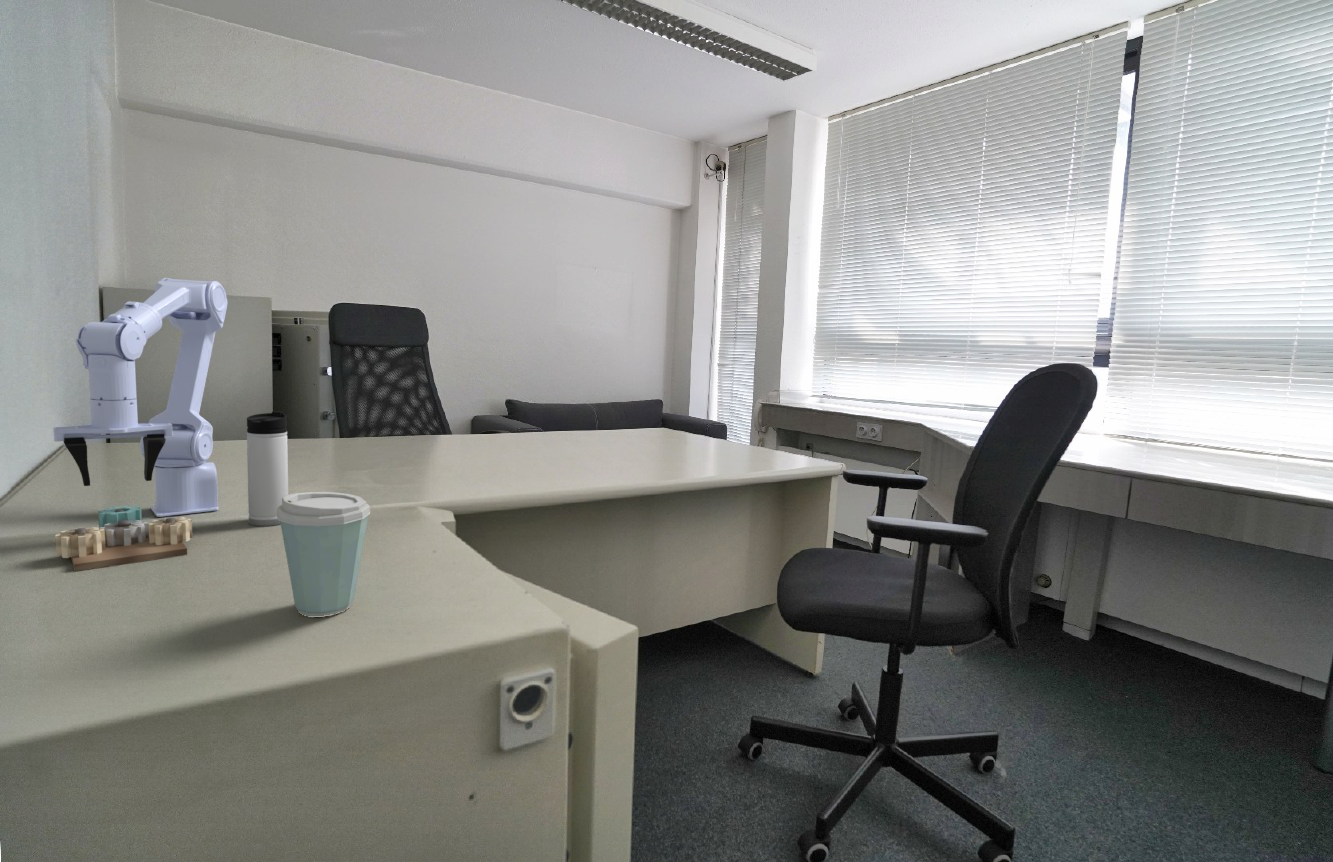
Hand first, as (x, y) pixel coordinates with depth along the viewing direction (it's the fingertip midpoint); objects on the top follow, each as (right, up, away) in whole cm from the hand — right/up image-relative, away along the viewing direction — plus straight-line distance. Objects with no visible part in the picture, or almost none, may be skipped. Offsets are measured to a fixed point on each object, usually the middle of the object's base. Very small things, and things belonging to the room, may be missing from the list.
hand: (118, 482), depth 107 cm
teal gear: (-1, -8, +1) cm, 8 cm away
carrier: (+4, -10, -3) cm, 11 cm away
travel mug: (+16, -9, +14) cm, 23 cm away
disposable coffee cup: (+45, -15, -21) cm, 52 cm away
